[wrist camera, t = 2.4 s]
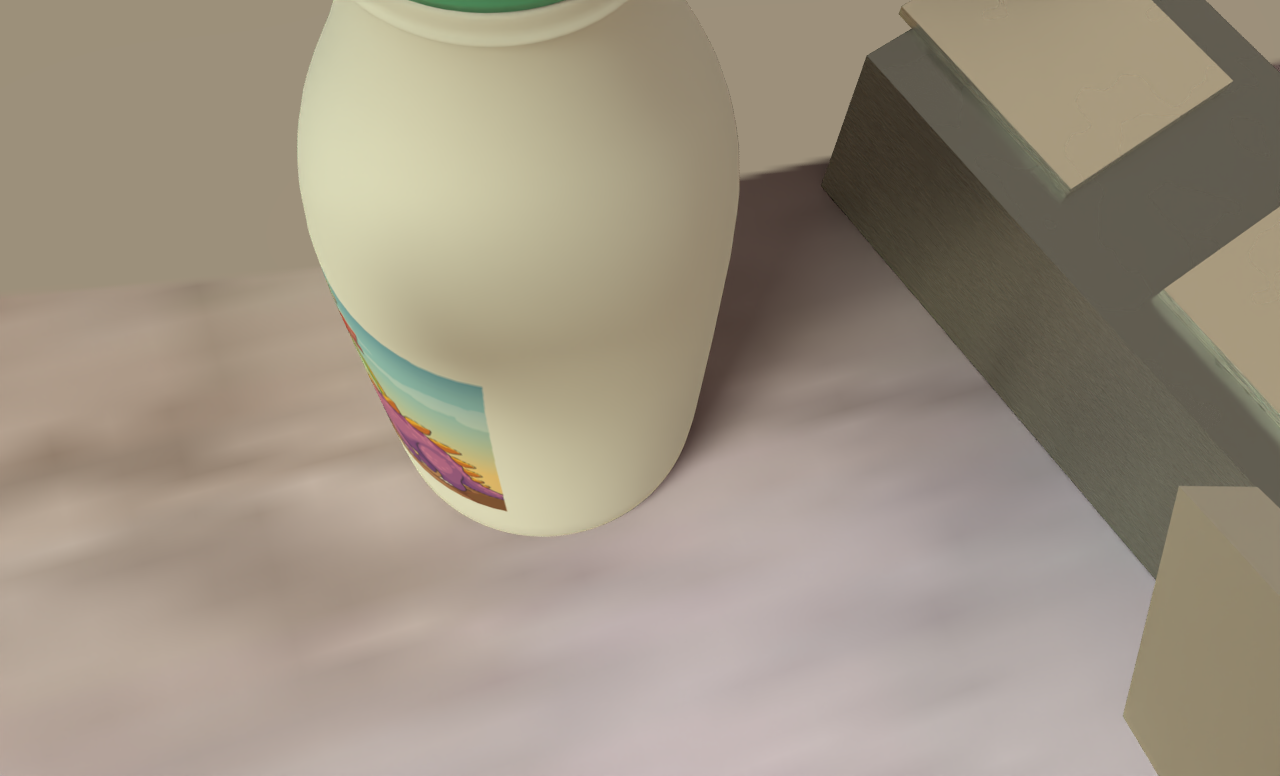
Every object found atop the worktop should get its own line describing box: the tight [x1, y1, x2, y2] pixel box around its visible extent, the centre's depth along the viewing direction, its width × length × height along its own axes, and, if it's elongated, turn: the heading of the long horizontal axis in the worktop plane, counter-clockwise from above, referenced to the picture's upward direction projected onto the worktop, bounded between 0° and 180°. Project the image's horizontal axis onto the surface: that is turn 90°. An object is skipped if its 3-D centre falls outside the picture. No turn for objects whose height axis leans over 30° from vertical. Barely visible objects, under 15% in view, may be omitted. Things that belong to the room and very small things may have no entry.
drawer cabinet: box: [821, 0, 1280, 579], centre depth 30 cm, size 15×8×6 cm, turn 35°
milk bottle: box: [297, 0, 740, 537], centre depth 22 cm, size 8×8×20 cm
